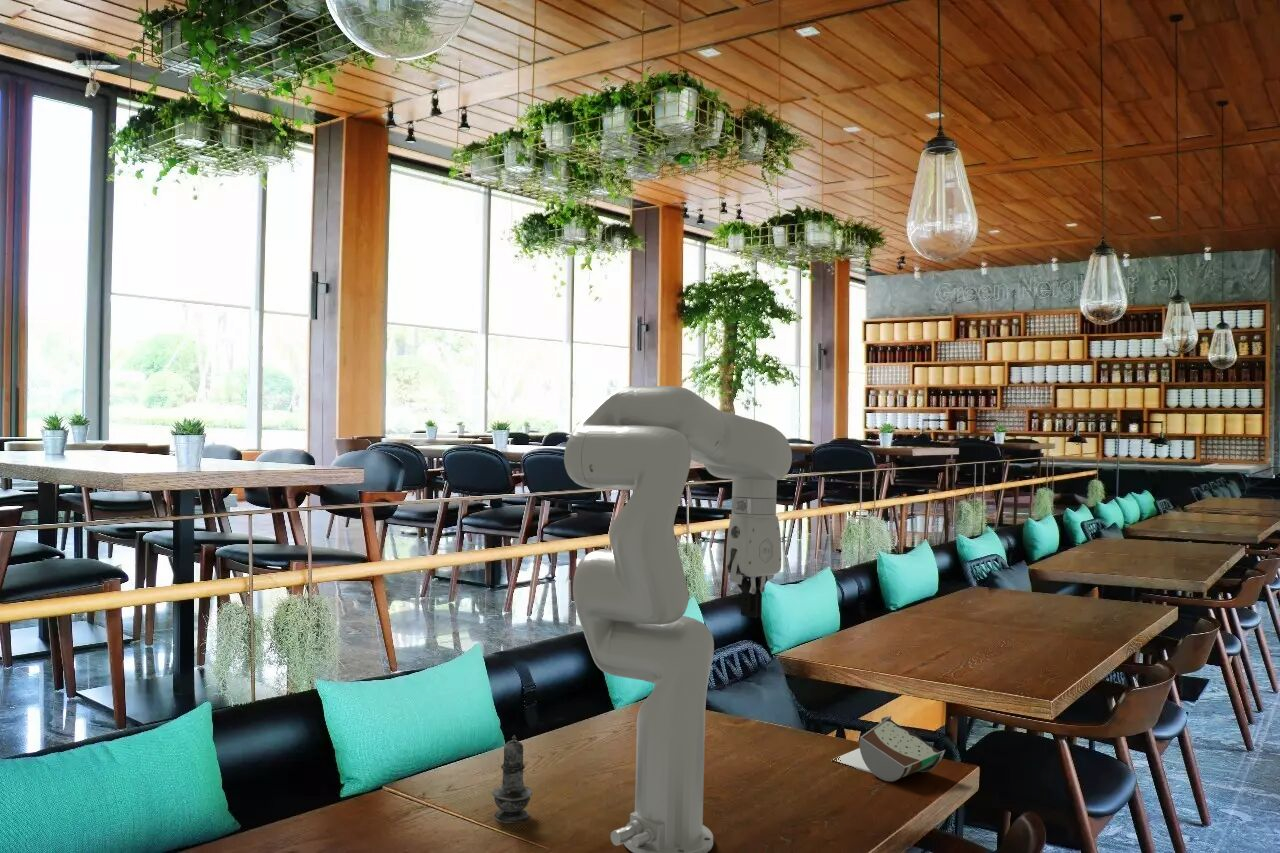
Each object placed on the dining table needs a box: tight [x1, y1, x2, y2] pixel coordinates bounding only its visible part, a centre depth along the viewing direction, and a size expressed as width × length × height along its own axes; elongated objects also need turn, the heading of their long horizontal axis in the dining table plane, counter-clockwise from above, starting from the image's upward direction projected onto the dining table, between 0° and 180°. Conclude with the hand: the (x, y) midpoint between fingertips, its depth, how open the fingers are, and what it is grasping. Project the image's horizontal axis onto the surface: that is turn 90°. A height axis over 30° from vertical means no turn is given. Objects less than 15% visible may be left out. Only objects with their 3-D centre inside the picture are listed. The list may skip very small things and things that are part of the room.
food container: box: [858, 715, 946, 782], centre depth 161 cm, size 12×6×10 cm
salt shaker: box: [492, 734, 533, 824], centre depth 139 cm, size 6×6×12 cm
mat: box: [832, 747, 873, 774], centre depth 166 cm, size 10×11×1 cm
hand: (751, 615), depth 160 cm, fingers closed
